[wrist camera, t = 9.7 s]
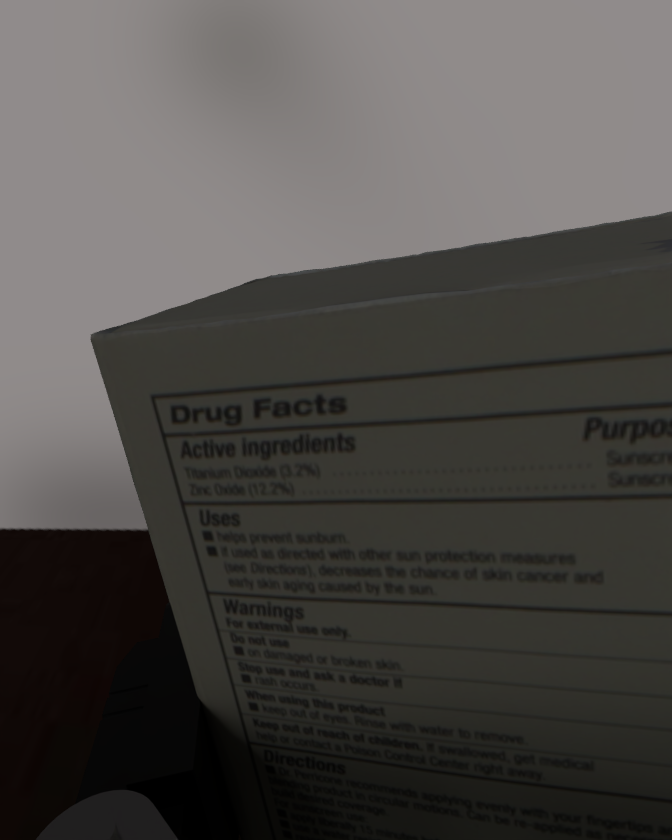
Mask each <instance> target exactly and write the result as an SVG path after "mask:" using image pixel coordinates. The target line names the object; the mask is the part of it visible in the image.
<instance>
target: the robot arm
mask: <svg viewBox="0 0 672 840" xmlns="http://www.w3.org/2000/svg"><path fill="white" fill-rule="evenodd" d="M109 695H110V698H107V701H106V705H105V708H104V711H103V720H101V721H100V724H99V728H98V731H97V734H96V738H95V741H94V744H93V747H92V751H91V754H90V757H89V760H88V764H87V767H86V770H85V774H84V777H83V780H82V783H81V787H80V790H79V793H78V797H77V800H76V803H75V805H73V806H72V807H70V808H69V809H67V810H66V811H64V812H63V813H62V814H60V815H59V816H58V817H57V818H56V819H55V820H53V821H52V822H51V823H50V824H49V825H48V826H47V827H46V828H45V829H44V830H43V832H42V833H41V834H40V835H39V836H38V838H37V839H36V840H238V838H239V831H238V828H237V825H236V822H235V818H234V814H233V811H232V808H231V804H230V801H229V798H228V795H227V792H226V788H225V785H224V781H223V778H222V774H221V771H220V767H219V763H218V760H217V756H216V753H215V749H214V746H213V742H212V739H211V735H210V732H209V728H208V725H207V721H206V718H205V714H204V711H203V707H202V704H201V701H200V699H199V697H198V696H197V693H196V690H195V686H194V682H193V679H192V675H191V671H190V668H189V665H188V661H187V658H186V654H185V651H184V648H183V644H182V641H181V638H180V634H179V631H178V627H177V624H176V621H175V617H174V614H173V611H172V607H171V604H170V603H168V604H167V605H166V608H165V612H164V617H163V621H162V626H161V630H160V635H159V638H155V639H151V640H146V641H141V642H137V643H136V644H135V646H134V647H133V648H132V649H131V651H130V652H129V653H128V654H127V655H126V657H125V658H124V659H123V660H122V662H121V663H120V664H119V665H118V666H117V669H116V672H115V675H114V679H113V682H112V685H111V688H110V692H109Z"/></svg>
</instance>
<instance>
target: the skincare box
mask: <svg viewBox="0 0 672 840" xmlns="http://www.w3.org/2000/svg"><path fill="white" fill-rule="evenodd" d="M91 342H92V345H93V349H94V352H95V355H96V358H97V362H98V365H99V368H100V371H101V375H102V378H103V381H104V384H105V387H106V390H107V394H108V397H109V400H110V404H111V407H112V410H113V414H114V417H115V420H116V423H117V427H118V430H119V433H120V437H121V440H122V444H123V447H124V450H125V453H126V457H127V460H128V464H129V467H130V471H131V475H132V478H133V482H134V485H135V488H136V491H137V494H138V497H139V500H140V503H141V507H142V510H143V513H144V516H145V520H146V523H147V526H148V530H149V533H150V537H151V540H152V543H153V547H154V550H155V554H156V557H157V560H158V564H159V567H160V570H161V574H162V577H163V581H164V584H165V587H166V591H167V594H168V597H169V601H170V604H171V607H172V611H173V614H174V617H175V621H176V624H177V627H178V631H179V634H180V638H181V641H182V644H183V648H184V651H185V654H186V658H187V661H188V665H189V668H190V671H191V675H192V679H193V682H194V686H195V690H196V693H197V696H198V697H199V699H200V701H201V704H202V707H203V711H204V714H205V718H206V721H207V725H208V728H209V732H210V735H211V739H212V742H213V746H214V749H215V753H216V756H217V760H218V763H219V767H220V771H221V774H222V778H223V781H224V785H225V788H226V792H227V795H228V798H229V801H230V804H231V808H232V811H233V814H234V818H235V822H236V825H237V828H238V831H239V835H240V838H241V840H672V212H667V213H663V214H660V215H656V216H648V217H642V218H636V219H630V220H625V221H620V222H615V223H614V222H613V223H604V224H599V225H595V226H589V227H583V228H576V229H569V230H563V231H557V232H552V233H548V234H541V235H536V236H531V237H522V238H514V239H509V240H503V241H497V242H491V243H483V244H475V245H470V246H466V247H461V248H454V249H448V250H442V251H433V252H425V253H422V254H419V255H410V256H405V257H399V258H392V259H382V260H375V261H369V262H364V263H358V264H353V265H346V266H339V267H333V268H326V269H313V270H304V271H300V272H294V273H288V274H278V275H274V276H269V277H266V278H262V279H255V280H253V281H250V282H247V283H244V284H242V285H240V286H237V287H234V288H231V289H228V290H226V291H223V292H220V293H217V294H214V295H210V296H208V297H206V298H202V299H198V300H195V301H193V302H191V303H188V304H185V305H181V306H178V307H175V308H171V309H168V310H165V311H162V312H160V313H157V314H155V315H151V316H148V317H145V318H143V319H140V320H138V321H134V322H130V323H127V324H124V325H121V326H117V327H112V328H109V329H106V330H102V331H99V332H97V333H94V334H92V335H91Z"/></svg>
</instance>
